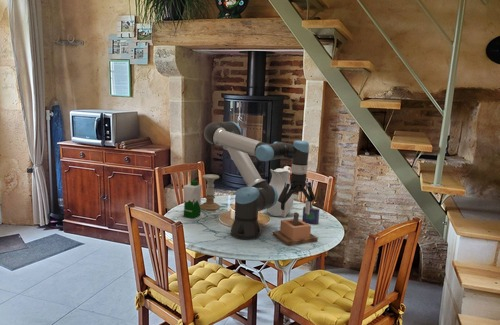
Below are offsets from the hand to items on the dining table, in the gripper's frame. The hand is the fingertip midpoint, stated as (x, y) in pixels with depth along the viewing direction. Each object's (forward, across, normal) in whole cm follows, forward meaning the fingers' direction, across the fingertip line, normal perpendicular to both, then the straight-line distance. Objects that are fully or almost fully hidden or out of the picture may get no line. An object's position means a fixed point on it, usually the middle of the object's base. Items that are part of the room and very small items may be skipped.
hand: (295, 214), depth 185 cm
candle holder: (+13, -23, +60) cm, 66 cm away
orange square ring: (+10, 0, 0) cm, 10 cm away
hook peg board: (+12, 0, -1) cm, 12 cm away
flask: (+12, +21, +16) cm, 30 cm away
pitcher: (+13, +15, +39) cm, 44 cm away
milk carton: (+13, -38, +48) cm, 63 cm away
